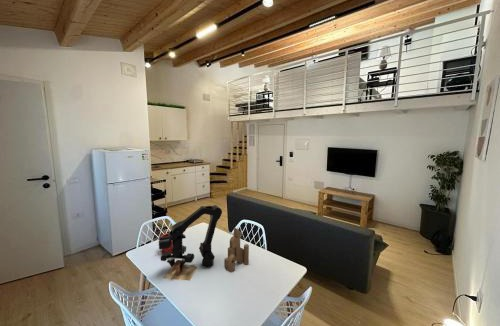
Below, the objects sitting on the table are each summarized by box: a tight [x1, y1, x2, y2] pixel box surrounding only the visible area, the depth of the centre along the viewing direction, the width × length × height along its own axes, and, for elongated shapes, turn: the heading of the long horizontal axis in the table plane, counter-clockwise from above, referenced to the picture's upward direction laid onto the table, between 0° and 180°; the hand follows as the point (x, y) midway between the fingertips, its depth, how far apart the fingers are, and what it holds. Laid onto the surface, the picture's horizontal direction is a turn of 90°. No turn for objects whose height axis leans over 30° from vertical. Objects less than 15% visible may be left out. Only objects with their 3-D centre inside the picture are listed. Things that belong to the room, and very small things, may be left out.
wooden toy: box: [223, 227, 250, 273], centre depth 141 cm, size 16×7×25 cm, turn 131°
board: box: [162, 263, 198, 281], centre depth 133 cm, size 16×14×4 cm
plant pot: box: [160, 232, 173, 255], centre depth 158 cm, size 13×13×12 cm
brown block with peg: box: [171, 259, 183, 278], centre depth 131 cm, size 4×11×6 cm, turn 174°
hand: (177, 270), depth 133 cm, fingers closed on brown block with peg, 4 cm apart
